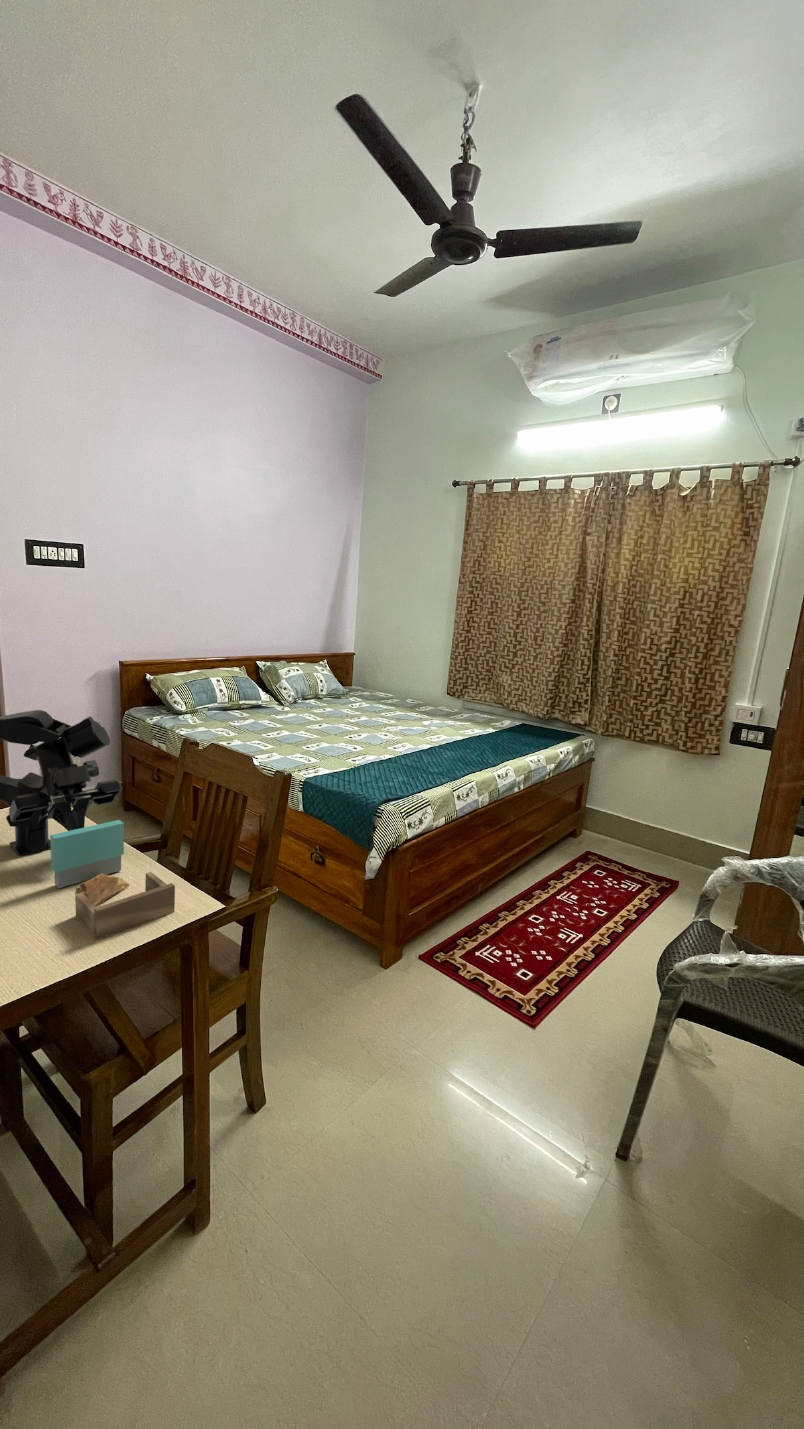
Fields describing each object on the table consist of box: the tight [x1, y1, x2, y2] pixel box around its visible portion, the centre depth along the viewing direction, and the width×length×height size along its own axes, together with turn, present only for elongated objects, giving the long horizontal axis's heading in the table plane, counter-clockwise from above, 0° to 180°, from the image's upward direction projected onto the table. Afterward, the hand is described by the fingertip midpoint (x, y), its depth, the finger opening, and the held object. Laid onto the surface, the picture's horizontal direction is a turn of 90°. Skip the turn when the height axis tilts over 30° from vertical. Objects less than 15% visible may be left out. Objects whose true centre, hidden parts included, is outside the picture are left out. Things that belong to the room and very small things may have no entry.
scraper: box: [49, 819, 125, 889], centre depth 106 cm, size 2×12×10 cm, turn 139°
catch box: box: [74, 871, 176, 941], centre depth 97 cm, size 9×13×5 cm
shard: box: [78, 874, 130, 907], centre depth 102 cm, size 11×8×2 cm
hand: (80, 838), depth 109 cm, fingers closed
